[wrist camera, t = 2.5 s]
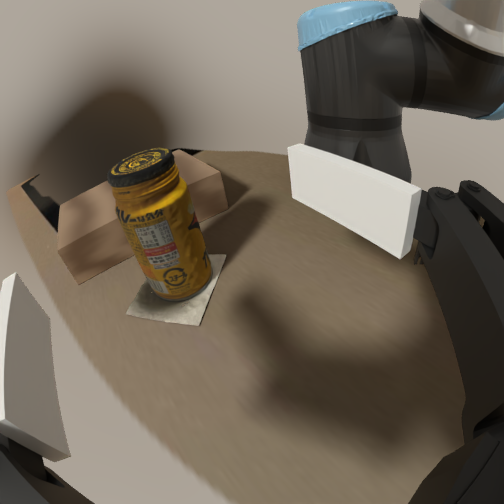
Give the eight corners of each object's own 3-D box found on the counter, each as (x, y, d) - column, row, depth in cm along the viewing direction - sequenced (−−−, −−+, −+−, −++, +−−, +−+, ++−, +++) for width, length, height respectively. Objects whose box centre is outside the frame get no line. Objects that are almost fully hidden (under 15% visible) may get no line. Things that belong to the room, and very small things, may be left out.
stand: (187, 177, 45) (179, 149, 42) (228, 208, 35) (220, 171, 32) (73, 232, 38) (60, 205, 35) (78, 284, 28) (57, 250, 25)
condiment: (226, 255, 28) (196, 137, 21) (199, 326, 22) (141, 190, 15) (162, 254, 30) (123, 150, 23) (127, 316, 24) (60, 202, 17)
